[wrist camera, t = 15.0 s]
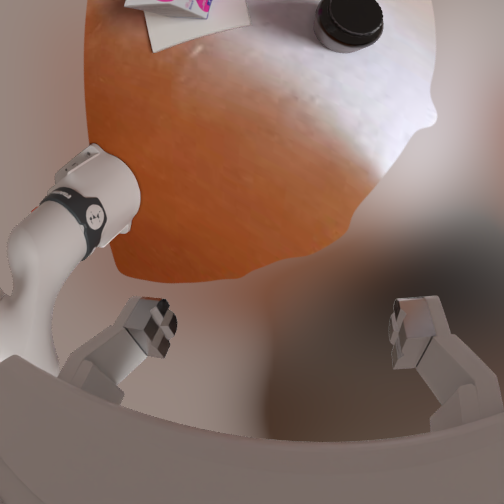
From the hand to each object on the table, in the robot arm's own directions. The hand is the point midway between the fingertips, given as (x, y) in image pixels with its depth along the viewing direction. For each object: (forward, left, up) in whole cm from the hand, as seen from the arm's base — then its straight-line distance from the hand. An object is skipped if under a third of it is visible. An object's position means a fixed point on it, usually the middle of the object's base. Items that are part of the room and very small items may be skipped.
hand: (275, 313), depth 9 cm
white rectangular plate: (-11, +21, -31) cm, 39 cm away
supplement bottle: (+7, +13, -31) cm, 35 cm away
